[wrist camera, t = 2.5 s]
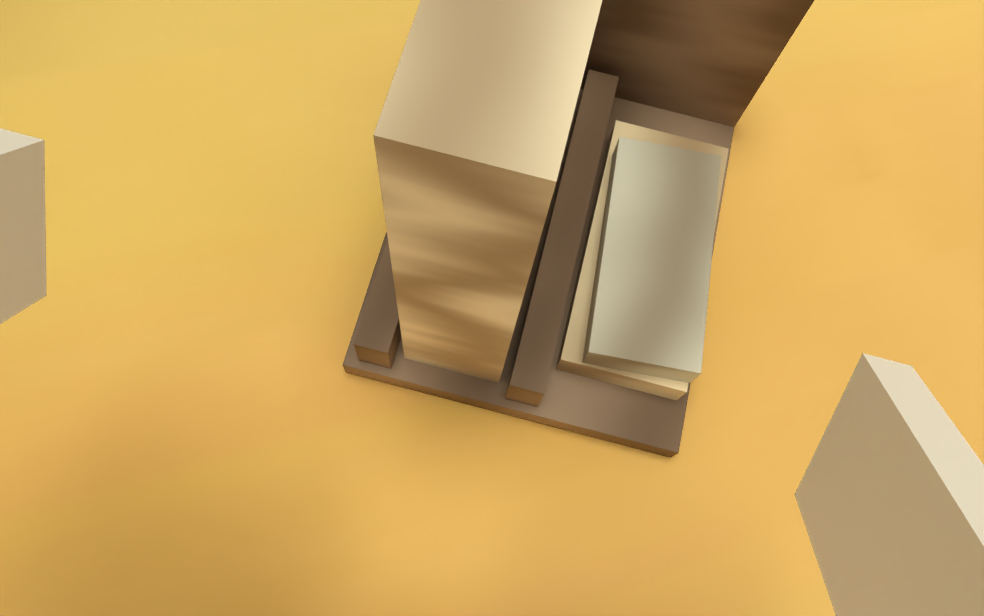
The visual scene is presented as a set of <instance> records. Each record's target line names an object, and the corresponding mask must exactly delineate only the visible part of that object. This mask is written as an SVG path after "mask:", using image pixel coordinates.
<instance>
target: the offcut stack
mask: <svg viewBox="0 0 984 616" xmlns="http://www.w3.org/2000/svg"><path fill="white" fill-rule="evenodd" d="M728 150H729V149H728V148H724V147H720V146H716V145H712V144H708V143H704V142H700V141H696V140H692V139H688V138H685V137H681V136H677V135H673V134H669V133H665V132H661V131H657V130H653V129H649V128H645V127H641V126H637V125H633V124H629V123H625V122H621V121H617V120H616V122H615V124H614V127H613V130H612V132H611V135H610V138H609V142H608V146H607V150H606V154H605V159H604V163H603V167H602V172H601V176H600V180H599V185H598V189H597V193H596V198H595V202H594V206H593V210H592V215H591V219H590V223H589V228H588V232H587V236H586V241H585V245H584V249H583V253H582V258H581V262H580V266H579V271H578V275H577V279H576V284H575V288H574V292H573V296H572V301H571V305H570V309H569V314H568V318H567V322H566V327H565V331H564V335H563V339H562V344H561V348H560V352H559V357H558V361H557V365H556V369H557V370H561V371H565V372H568V373H572V374H576V375H580V376H584V377H588V378H592V379H595V380H599V381H603V382H607V383H611V384H615V385H618V386H622V387H626V388H630V389H634V390H638V391H641V392H645V393H649V394H653V395H657V396H661V397H665V398H668V399H672V400H676V401H677V400H678V399H679V398H680V397H682V396H683V395H684V394H685V393H686V392H687V389H688V383H690V382H691V381H693V380H694V379H695V378H696V377H697V376H699V375H700V374H701V369H702V358H703V347H704V336H705V325H706V314H707V304H708V293H709V282H710V271H711V260H712V249H713V239H714V232H715V226H716V220H717V214H718V208H719V203H720V197H721V191H722V185H723V179H724V173H725V168H726V162H727V156H728Z"/></svg>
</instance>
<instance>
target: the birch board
mask: <svg viewBox="0 0 984 616" xmlns="http://www.w3.org/2000/svg"><path fill="white" fill-rule="evenodd" d="M601 4H602V0H421V1H420V4H419V7H418V10H417V13H416V15H415V18H414V21H413V24H412V27H411V30H410V32H409V35H408V38H407V41H406V44H405V47H404V50H403V52H402V55H401V58H400V61H399V64H398V67H397V70H396V72H395V75H394V78H393V81H392V84H391V87H390V89H389V92H388V95H387V98H386V101H385V104H384V107H383V109H382V112H381V115H380V118H379V121H378V124H377V126H376V129H375V132H374V135H373V136H374V143H375V150H376V157H377V164H378V171H379V179H380V186H381V193H382V200H383V207H384V215H385V222H386V229H387V236H388V243H389V250H390V258H391V265H392V272H393V279H394V286H395V293H396V301H397V308H398V315H399V322H400V329H401V337H402V344H403V351H404V358H405V359H409V360H412V361H416V362H420V363H424V364H428V365H432V366H435V367H439V368H443V369H447V370H451V371H455V372H458V373H462V374H466V375H470V376H474V377H478V378H481V379H485V380H489V381H493V382H497V383H499V381H500V377H501V374H502V370H503V367H504V363H505V360H506V356H507V353H508V349H509V346H510V342H511V339H512V335H513V332H514V328H515V325H516V321H517V318H518V314H519V311H520V307H521V304H522V300H523V297H524V293H525V290H526V286H527V283H528V279H529V276H530V272H531V269H532V265H533V262H534V258H535V255H536V251H537V248H538V244H539V241H540V237H541V234H542V230H543V227H544V223H545V220H546V216H547V213H548V209H549V206H550V202H551V199H552V195H553V192H554V188H555V185H556V181H557V177H558V173H559V170H560V166H561V162H562V158H563V154H564V150H565V146H566V142H567V138H568V134H569V130H570V126H571V122H572V118H573V114H574V110H575V106H576V102H577V99H578V95H579V91H580V87H581V83H582V79H583V75H584V71H585V67H586V63H587V59H588V55H589V51H590V47H591V43H592V39H593V35H594V31H595V27H596V24H597V20H598V16H599V12H600V8H601Z"/></svg>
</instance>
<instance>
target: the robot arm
mask: <svg viewBox="0 0 984 616" xmlns="http://www.w3.org/2000/svg"><path fill="white" fill-rule="evenodd" d="M45 296H46V231H45V164H44V140H42V139H39V138H35V137H31V136H27V135H23V134H19V133H16V132H12V131H8V130H4V129H0V324H1V323H3V322H4V321H6V320H8V319H9V318H11V317H13V316H14V315H16V314H17V313H19V312H21V311H22V310H24V309H25V308H27V307H29V306H30V305H32V304H34V303H35V302H37V301H38V300H40V299H42V298H43V297H45ZM795 497H796V500H797V503H798V506H799V509H800V512H801V515H802V517H803V520H804V523H805V526H806V529H807V532H808V535H809V538H810V541H811V544H812V547H813V550H814V553H815V556H816V559H817V562H818V565H819V567H820V570H821V573H822V576H823V579H824V582H825V585H826V588H827V591H828V594H829V597H830V600H831V603H832V606H833V609H834V612H835V615H836V616H984V465H983V463H982V462H981V461H980V459H979V458H978V456H977V455H976V454H975V452H974V451H973V450H972V448H971V447H970V445H969V444H968V443H967V441H966V440H965V439H964V437H963V436H962V434H961V433H960V432H959V430H958V429H957V428H956V426H955V425H954V423H953V422H952V421H951V419H950V418H949V416H948V415H947V414H946V412H945V411H944V410H943V408H942V407H941V405H940V404H939V403H938V401H937V400H936V399H935V397H934V396H933V394H932V393H931V392H930V390H929V389H928V387H927V386H926V385H925V383H924V382H923V381H922V379H921V378H920V376H919V375H918V374H917V372H916V371H915V370H914V368H913V367H912V366H910V365H906V364H902V363H899V362H895V361H891V360H887V359H883V358H879V357H876V356H872V355H868V354H864V353H863V354H862V356H861V358H860V360H859V362H858V364H857V366H856V368H855V370H854V372H853V374H852V376H851V378H850V381H849V383H848V385H847V387H846V389H845V391H844V393H843V395H842V397H841V399H840V401H839V403H838V405H837V408H836V410H835V412H834V414H833V416H832V418H831V420H830V422H829V424H828V426H827V428H826V430H825V432H824V435H823V437H822V439H821V441H820V443H819V445H818V447H817V449H816V451H815V453H814V455H813V457H812V459H811V462H810V464H809V466H808V468H807V470H806V472H805V474H804V476H803V478H802V480H801V482H800V484H799V486H798V489H797V491H796V493H795Z"/></svg>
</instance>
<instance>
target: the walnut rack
mask: <svg viewBox="0 0 984 616" xmlns="http://www.w3.org/2000/svg"><path fill="white" fill-rule="evenodd" d="M813 1H814V0H602V4H601V8H600V12H599V16H598V20H597V24H596V27H595V31H594V35H593V39H592V43H591V47H590V51H589V55H588V59H587V63H586V67H585V71H584V75H583V79H582V83H581V87H580V91H579V95H578V99H577V102H576V106H575V110H574V114H573V118H572V122H571V126H570V130H569V134H568V138H567V142H566V146H565V150H564V154H563V158H562V162H561V166H560V170H559V173H558V177H557V181H556V185H555V188H554V192H553V195H552V199H551V202H550V206H549V209H548V213H547V216H546V220H545V223H544V227H543V230H542V234H541V237H540V241H539V244H538V248H537V251H536V255H535V258H534V262H533V265H532V269H531V272H530V276H529V279H528V283H527V286H526V290H525V293H524V297H523V300H522V304H521V307H520V311H519V314H518V318H517V321H516V325H515V328H514V332H513V335H512V339H511V342H510V346H509V349H508V353H507V356H506V360H505V363H504V367H503V370H502V374H501V377H500V381H499V383H497V382H493V381H489V380H485V379H481V378H478V377H474V376H470V375H466V374H462V373H458V372H455V371H451V370H447V369H443V368H439V367H435V366H432V365H428V364H424V363H420V362H416V361H412V360H409V359H405V358H404V351H403V344H402V337H401V329H400V322H399V315H398V308H397V301H396V293H395V286H394V279H393V272H392V265H391V258H390V250H389V243H388V236H387V232H386V235H385V238H384V241H383V244H382V247H381V250H380V253H379V256H378V259H377V262H376V265H375V268H374V271H373V274H372V277H371V280H370V284H369V287H368V290H367V293H366V296H365V299H364V302H363V305H362V308H361V311H360V314H359V317H358V320H357V323H356V326H355V329H354V332H353V335H352V338H351V341H350V344H349V347H348V350H347V354H346V357H345V360H344V363H343V367H344V369H345V371H346V372H347V373H351V374H355V375H359V376H363V377H366V378H370V379H374V380H378V381H382V382H385V383H389V384H393V385H397V386H401V387H405V388H408V389H412V390H416V391H420V392H424V393H427V394H431V395H435V396H439V397H443V398H447V399H450V400H454V401H458V402H462V403H466V404H469V405H473V406H477V407H481V408H485V409H488V410H492V411H496V412H500V413H504V414H508V415H511V416H515V417H519V418H523V419H527V420H530V421H534V422H538V423H542V424H546V425H550V426H553V427H557V428H561V429H565V430H569V431H572V432H576V433H580V434H584V435H588V436H591V437H595V438H599V439H603V440H607V441H611V442H614V443H618V444H622V445H626V446H630V447H633V448H637V449H641V450H645V451H649V452H653V453H656V454H660V455H664V456H668V457H672V456H674V455H675V454H677V453H678V452H679V446H680V441H681V435H682V429H683V423H684V417H685V411H686V406H687V400H688V394H689V388H690V383H688V389H687V392H686V393H685V394H684V395H683V396H682V397H680V398H679V399H678V400H677V401H676V400H672V399H668V398H665V397H661V396H657V395H653V394H649V393H645V392H641V391H638V390H634V389H630V388H626V387H622V386H618V385H615V384H611V383H607V382H603V381H599V380H595V379H592V378H588V377H584V376H580V375H576V374H572V373H568V372H565V371H561V370H557V369H556V365H557V361H558V357H559V352H560V348H561V344H562V339H563V335H564V331H565V327H566V322H567V318H568V314H569V309H570V305H571V301H572V296H573V292H574V288H575V284H576V279H577V275H578V271H579V266H580V262H581V258H582V253H583V249H584V245H585V241H586V236H587V232H588V228H589V223H590V219H591V215H592V210H593V206H594V202H595V198H596V193H597V189H598V185H599V180H600V176H601V172H602V167H603V163H604V159H605V154H606V150H607V146H608V142H609V138H610V135H611V132H612V130H613V127H614V124H615V122H616V120H617V121H621V122H625V123H629V124H633V125H637V126H641V127H645V128H649V129H653V130H657V131H661V132H665V133H669V134H673V135H677V136H681V137H685V138H688V139H692V140H696V141H700V142H704V143H708V144H712V145H716V146H720V147H724V148H728V149H729V150H728V156H727V162H726V168H725V173H724V179H723V185H722V191H721V197H720V203H719V208H718V214H717V220H716V226H715V232H714V239H713V248H714V242H715V236H716V230H717V224H718V218H719V212H720V207H721V201H722V195H723V189H724V183H725V177H726V172H727V166H728V160H729V154H730V148H731V142H732V136H733V131H734V127H735V125H736V123H737V122H738V120H739V119H740V117H741V115H742V114H743V112H744V111H745V109H746V108H747V106H748V104H749V103H750V101H751V100H752V98H753V96H754V95H755V93H756V92H757V90H758V89H759V87H760V85H761V84H762V82H763V81H764V79H765V77H766V76H767V74H768V73H769V71H770V70H771V68H772V66H773V65H774V63H775V62H776V60H777V58H778V57H779V55H780V54H781V52H782V51H783V49H784V47H785V46H786V44H787V43H788V41H789V39H790V38H791V36H792V35H793V33H794V32H795V30H796V28H797V27H798V25H799V24H800V22H801V20H802V19H803V17H804V16H805V14H806V13H807V11H808V9H809V8H810V6H811V5H812V3H813ZM712 253H713V249H712Z"/></svg>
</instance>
